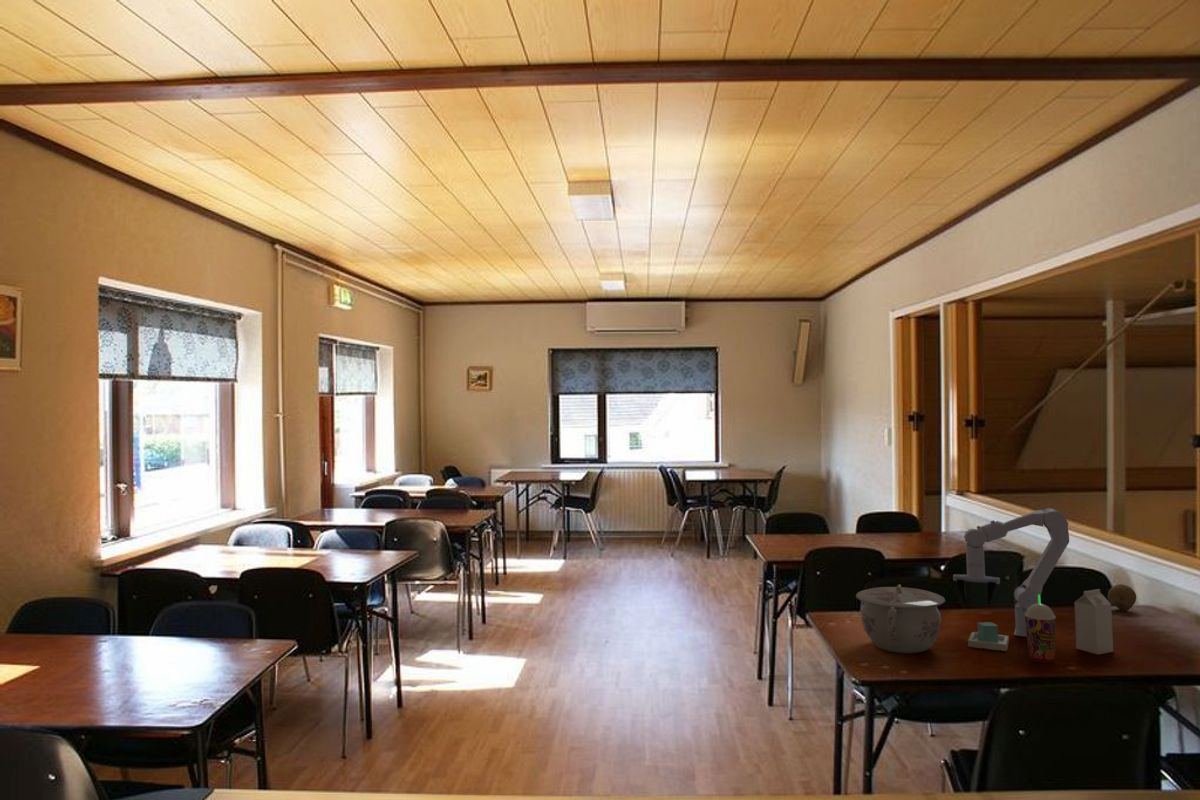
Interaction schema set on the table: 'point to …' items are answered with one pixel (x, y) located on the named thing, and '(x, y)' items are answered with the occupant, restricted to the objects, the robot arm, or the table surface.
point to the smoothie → (1040, 632)
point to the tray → (1001, 644)
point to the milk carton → (1093, 623)
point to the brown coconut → (1122, 597)
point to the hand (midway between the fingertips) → (977, 602)
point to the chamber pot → (901, 618)
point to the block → (987, 632)
